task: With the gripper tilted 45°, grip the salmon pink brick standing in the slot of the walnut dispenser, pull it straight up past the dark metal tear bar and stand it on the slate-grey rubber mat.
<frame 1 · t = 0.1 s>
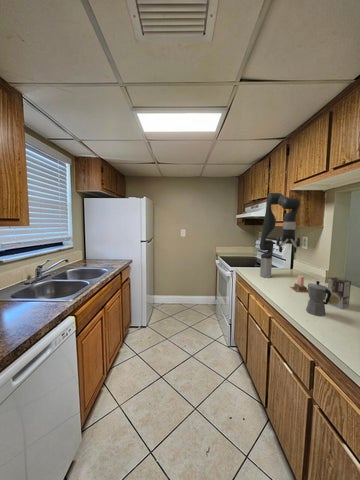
hand: (287, 252, 138), 29 cm above the worktop, tool pointing down, fingers open, 8 cm apart
dispenser: (299, 291, 149), on the worktop
coffeepot: (317, 313, 113), on the worktop
coffee box: (337, 306, 124), on the worktop
mat: (283, 292, 146), on the worktop
salmon pink brick: (300, 289, 149), point 1 cm above the worktop, touching dispenser
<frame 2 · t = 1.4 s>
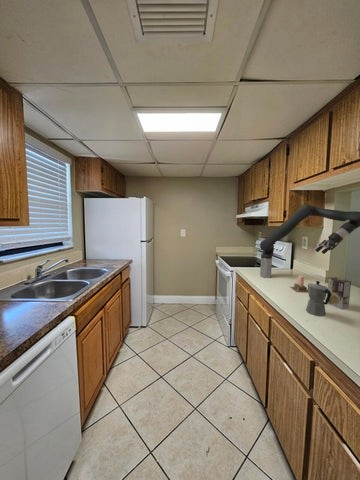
hand: (319, 252, 144), 29 cm above the worktop, tool tilted 45°, fingers open, 8 cm apart
nothing on the worktop moved.
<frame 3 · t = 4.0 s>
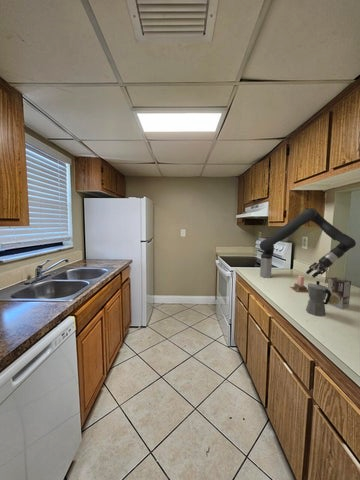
hand: (309, 275, 147), 12 cm above the worktop, tool tilted 45°, fingers open, 8 cm apart
nothing on the worktop moved.
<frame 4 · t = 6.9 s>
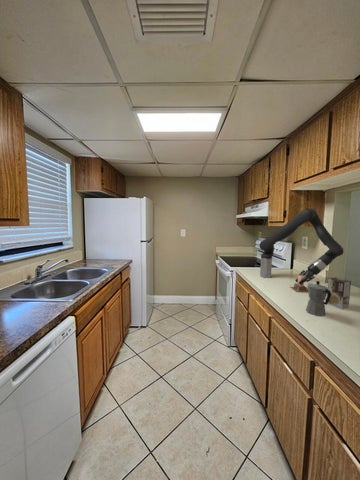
hand: (297, 282, 148), 6 cm above the worktop, tool tilted 45°, fingers closed on salmon pink brick, 5 cm apart
salmon pink brick: (300, 289, 149), point 1 cm above the worktop, touching dispenser, gripper
everything else where it was.
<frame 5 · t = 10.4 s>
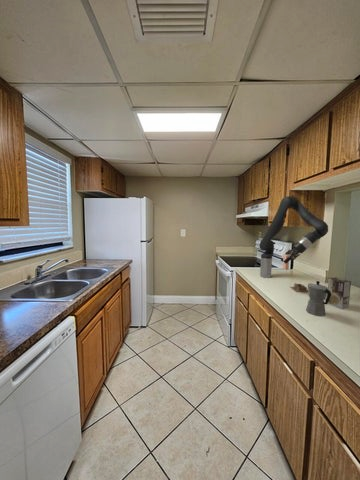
hand: (283, 261, 144), 22 cm above the worktop, tool tilted 45°, fingers closed on salmon pink brick, 5 cm apart
salmon pink brick: (285, 268, 145), point 17 cm above the worktop, touching gripper
everything else where it was.
when the fingers open (7 cm above the worktop, at t = 14.0 s): salmon pink brick drops 2 cm, resting on mat.
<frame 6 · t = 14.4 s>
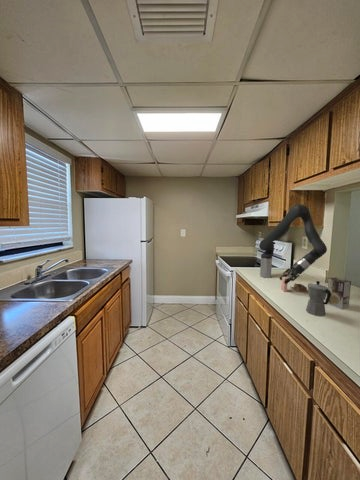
hand: (282, 281, 146), 8 cm above the worktop, tool tilted 45°, fingers open, 8 cm apart
salmon pink brick: (284, 291, 146), resting on mat
everything else where it was.
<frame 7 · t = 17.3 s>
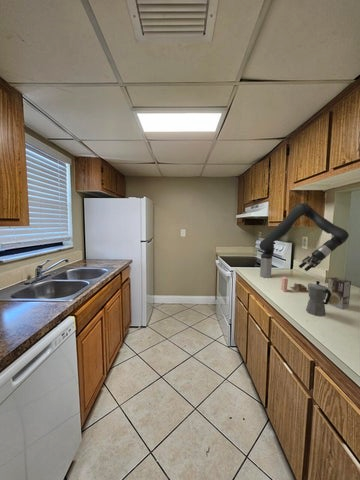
hand: (302, 268, 143), 17 cm above the worktop, tool tilted 45°, fingers open, 8 cm apart
nothing on the worktop moved.
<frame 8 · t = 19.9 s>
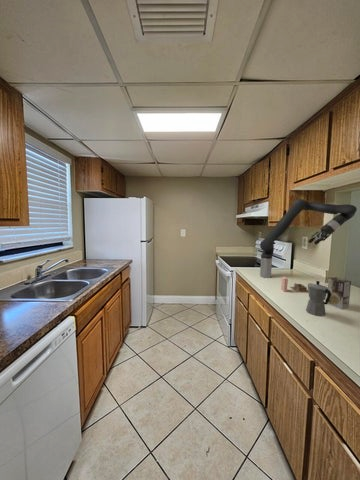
hand: (312, 243, 150), 35 cm above the worktop, tool tilted 45°, fingers open, 8 cm apart
nothing on the worktop moved.
at the end: salmon pink brick inside the target area (0.1 cm from its centre), point 0.5 cm above the worktop; salmon pink brick tilted 0°; the gripper is holding nothing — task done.
